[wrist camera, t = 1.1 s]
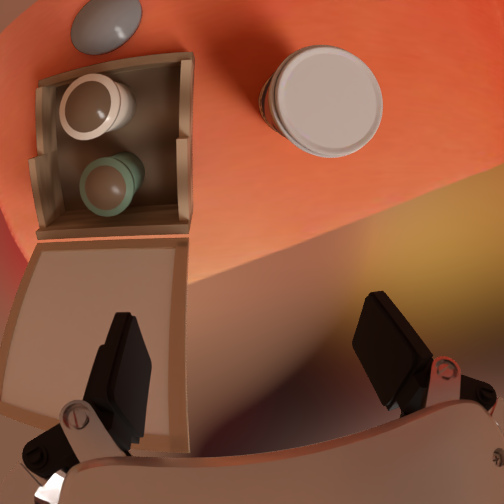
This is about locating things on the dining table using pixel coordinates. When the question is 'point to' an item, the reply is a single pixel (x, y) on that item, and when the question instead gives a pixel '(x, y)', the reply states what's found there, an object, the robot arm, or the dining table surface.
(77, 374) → the frame lid
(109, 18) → the slate saucer
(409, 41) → the dining table surface
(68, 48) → the dining table surface
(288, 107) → the coffee cup
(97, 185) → the green pot
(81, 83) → the cream pot
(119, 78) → the box
